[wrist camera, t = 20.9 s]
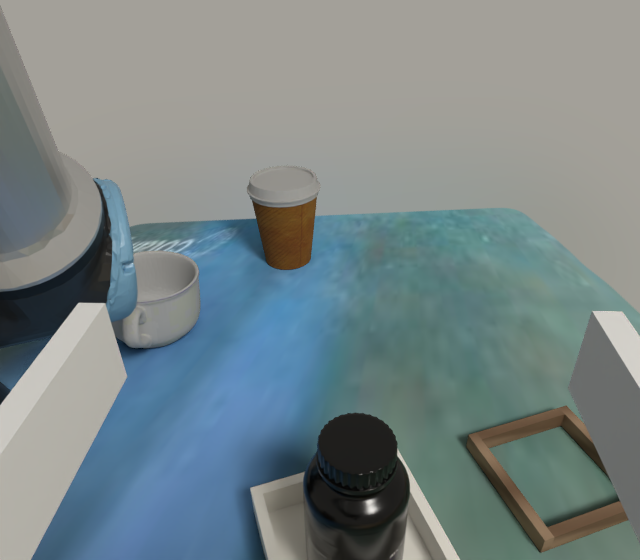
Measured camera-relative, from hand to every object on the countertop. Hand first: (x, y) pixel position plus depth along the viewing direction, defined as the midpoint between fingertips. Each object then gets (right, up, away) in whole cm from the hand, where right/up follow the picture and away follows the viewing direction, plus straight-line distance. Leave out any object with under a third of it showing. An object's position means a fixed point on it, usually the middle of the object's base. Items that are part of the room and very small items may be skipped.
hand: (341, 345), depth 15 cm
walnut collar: (+19, -14, +29) cm, 37 cm away
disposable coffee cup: (-5, +5, +60) cm, 60 cm away
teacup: (-19, -5, +46) cm, 50 cm away
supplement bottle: (+2, -18, +23) cm, 30 cm away
